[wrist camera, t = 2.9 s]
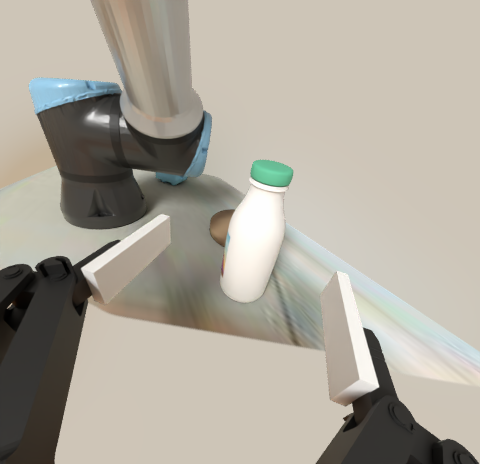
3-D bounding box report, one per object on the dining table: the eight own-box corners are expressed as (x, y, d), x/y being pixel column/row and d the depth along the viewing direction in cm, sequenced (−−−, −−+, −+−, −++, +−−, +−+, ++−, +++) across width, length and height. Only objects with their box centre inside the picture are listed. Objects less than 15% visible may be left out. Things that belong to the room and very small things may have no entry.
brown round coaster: (197, 236, 40) (198, 228, 39) (225, 210, 51) (226, 204, 50) (259, 261, 37) (261, 254, 36) (274, 228, 48) (276, 221, 47)
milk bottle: (273, 288, 32) (321, 173, 21) (240, 314, 27) (280, 182, 16) (242, 261, 36) (269, 153, 25) (209, 279, 31) (224, 155, 20)
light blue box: (147, 177, 59) (144, 153, 55) (160, 173, 64) (158, 150, 60) (180, 188, 57) (180, 163, 53) (191, 183, 62) (191, 159, 58)
